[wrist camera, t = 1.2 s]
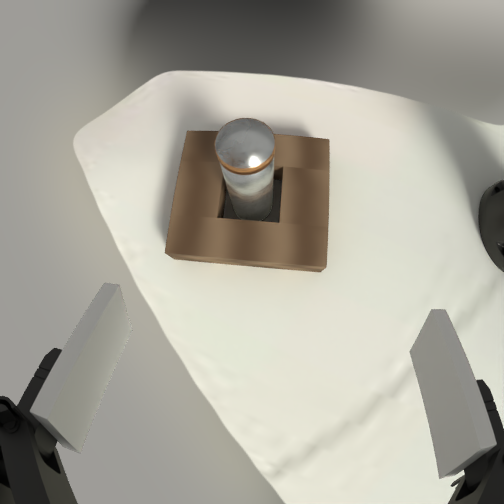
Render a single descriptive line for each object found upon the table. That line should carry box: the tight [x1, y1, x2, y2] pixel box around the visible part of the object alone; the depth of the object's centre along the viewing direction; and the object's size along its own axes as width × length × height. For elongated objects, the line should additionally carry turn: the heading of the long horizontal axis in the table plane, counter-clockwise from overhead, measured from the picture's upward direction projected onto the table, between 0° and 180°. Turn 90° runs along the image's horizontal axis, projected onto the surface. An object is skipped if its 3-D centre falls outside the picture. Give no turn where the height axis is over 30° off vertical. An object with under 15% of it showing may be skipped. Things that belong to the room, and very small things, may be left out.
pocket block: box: [165, 131, 329, 272], centre depth 39 cm, size 18×16×4 cm
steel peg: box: [215, 118, 275, 221], centre depth 33 cm, size 5×5×15 cm
